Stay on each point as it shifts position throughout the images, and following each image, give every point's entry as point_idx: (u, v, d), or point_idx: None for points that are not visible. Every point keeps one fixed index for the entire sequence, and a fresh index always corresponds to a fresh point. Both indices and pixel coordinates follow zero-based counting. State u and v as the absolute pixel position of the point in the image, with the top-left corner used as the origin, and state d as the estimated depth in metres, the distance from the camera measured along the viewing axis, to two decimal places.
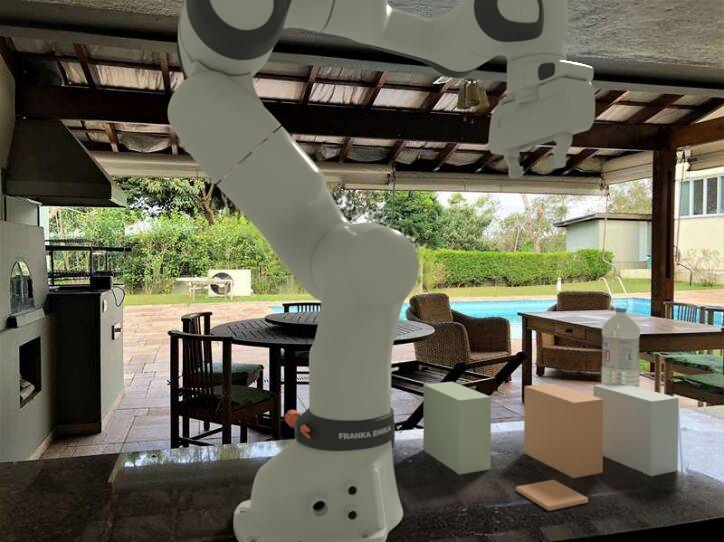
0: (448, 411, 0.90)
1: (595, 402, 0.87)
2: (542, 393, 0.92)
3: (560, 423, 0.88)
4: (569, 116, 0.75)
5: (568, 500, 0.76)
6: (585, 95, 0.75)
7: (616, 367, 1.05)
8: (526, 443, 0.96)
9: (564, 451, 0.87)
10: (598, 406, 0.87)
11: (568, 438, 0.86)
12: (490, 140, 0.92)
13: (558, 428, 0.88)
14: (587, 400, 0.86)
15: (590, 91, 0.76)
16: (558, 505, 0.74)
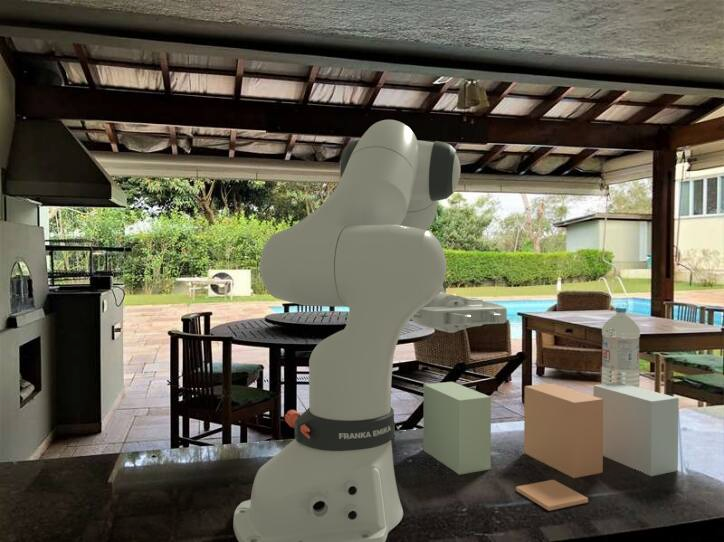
0: (448, 411, 0.90)
1: (595, 402, 0.87)
2: (542, 393, 0.92)
3: (560, 423, 0.88)
4: (500, 306, 1.22)
5: (568, 500, 0.76)
6: None
7: (616, 367, 1.05)
8: (526, 443, 0.96)
9: (564, 451, 0.87)
10: (598, 406, 0.87)
11: (568, 438, 0.86)
12: (428, 309, 1.16)
13: (558, 428, 0.88)
14: (587, 400, 0.86)
15: None
16: (558, 505, 0.74)
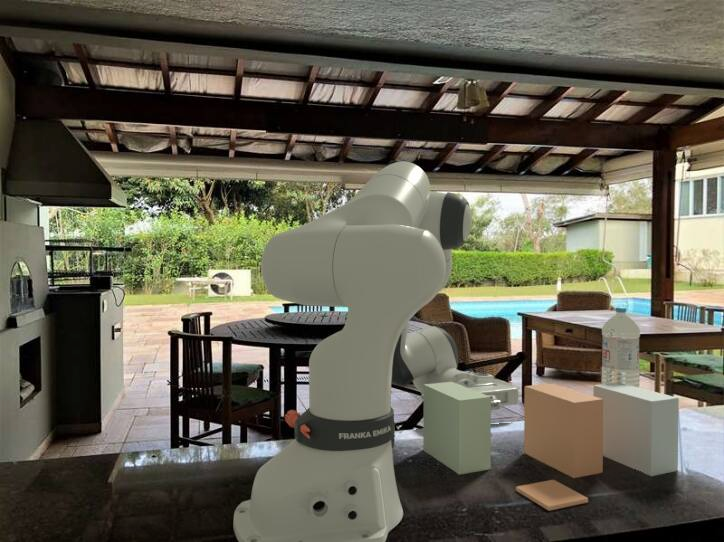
0: (448, 411, 0.90)
1: (595, 402, 0.87)
2: (542, 393, 0.92)
3: (560, 423, 0.88)
4: (512, 386, 1.18)
5: (568, 500, 0.76)
6: None
7: (616, 367, 1.05)
8: (526, 443, 0.96)
9: (564, 451, 0.87)
10: (598, 405, 0.87)
11: (568, 438, 0.86)
12: None
13: (558, 428, 0.88)
14: (587, 400, 0.86)
15: None
16: (558, 505, 0.74)
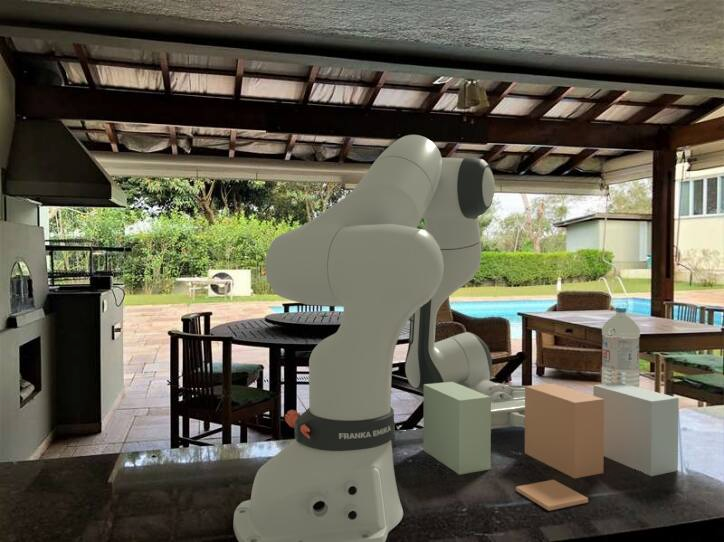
0: (448, 411, 0.90)
1: (596, 402, 0.86)
2: (543, 393, 0.92)
3: (561, 423, 0.88)
4: None
5: (568, 500, 0.76)
6: None
7: (616, 367, 1.05)
8: (527, 443, 0.95)
9: (565, 451, 0.87)
10: (599, 406, 0.87)
11: (569, 438, 0.86)
12: None
13: (559, 428, 0.88)
14: (588, 400, 0.86)
15: None
16: (558, 505, 0.74)
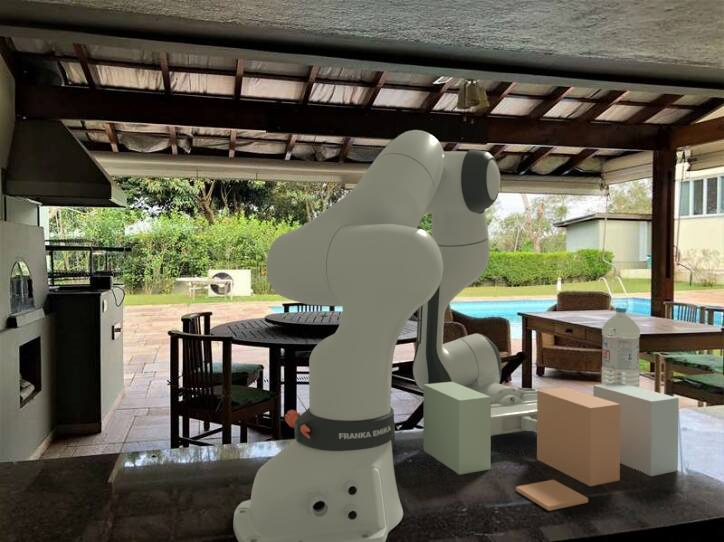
0: (448, 411, 0.90)
1: (612, 407, 0.83)
2: (556, 398, 0.89)
3: (575, 429, 0.85)
4: None
5: (568, 500, 0.76)
6: None
7: (616, 367, 1.05)
8: (539, 449, 0.92)
9: (579, 458, 0.84)
10: (615, 411, 0.84)
11: (584, 445, 0.83)
12: None
13: (573, 434, 0.85)
14: (604, 405, 0.83)
15: None
16: (558, 505, 0.74)
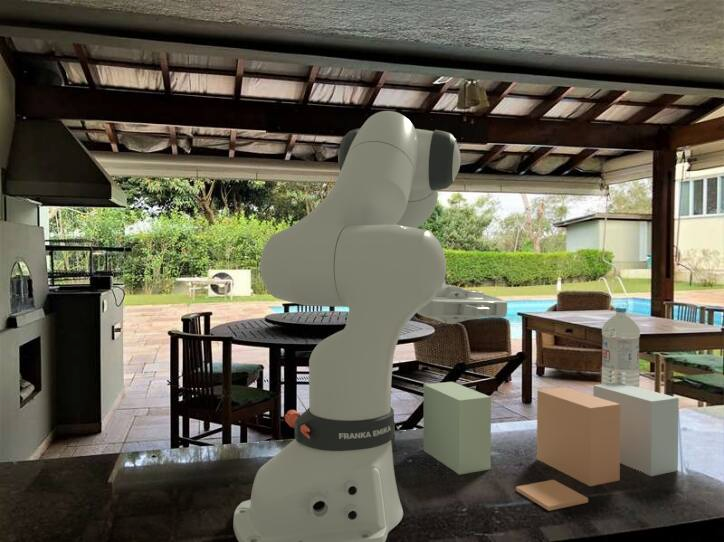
0: (448, 411, 0.90)
1: (612, 407, 0.83)
2: (556, 398, 0.89)
3: (575, 429, 0.85)
4: (501, 300, 1.21)
5: (568, 500, 0.76)
6: None
7: (616, 367, 1.05)
8: (539, 449, 0.92)
9: (579, 458, 0.84)
10: (615, 411, 0.84)
11: (584, 445, 0.83)
12: None
13: (573, 434, 0.85)
14: (604, 405, 0.83)
15: None
16: (558, 505, 0.74)
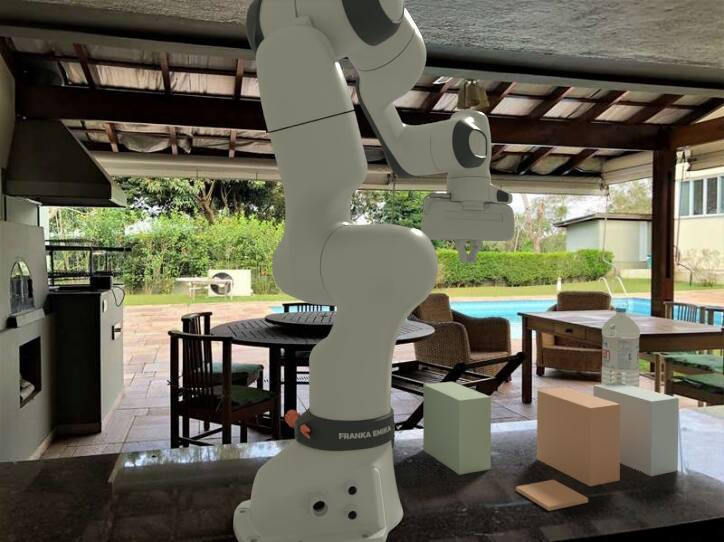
0: (448, 411, 0.90)
1: (612, 407, 0.83)
2: (556, 398, 0.89)
3: (575, 429, 0.85)
4: (510, 232, 1.10)
5: (568, 500, 0.76)
6: None
7: (616, 367, 1.05)
8: (539, 449, 0.92)
9: (579, 458, 0.84)
10: (615, 411, 0.84)
11: (584, 445, 0.83)
12: (433, 227, 1.04)
13: (573, 434, 0.85)
14: (604, 405, 0.83)
15: None
16: (558, 505, 0.74)
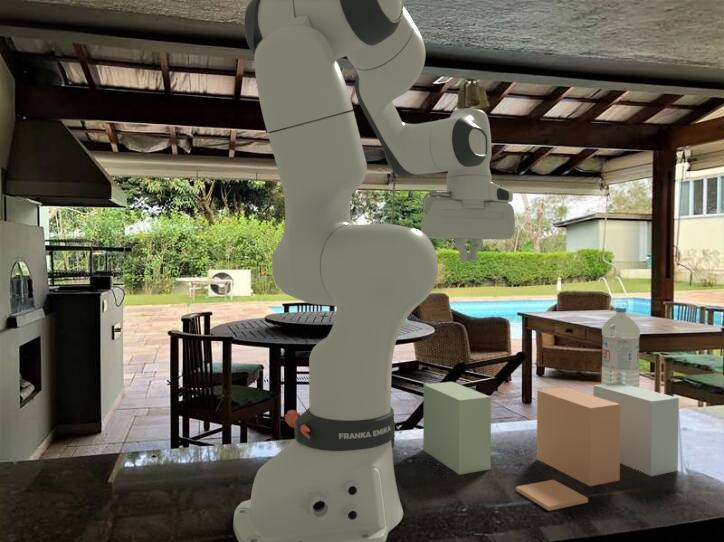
0: (448, 411, 0.90)
1: (612, 407, 0.83)
2: (556, 398, 0.89)
3: (575, 429, 0.85)
4: (511, 231, 1.10)
5: (568, 500, 0.76)
6: None
7: (616, 367, 1.05)
8: (539, 449, 0.92)
9: (579, 458, 0.84)
10: (615, 411, 0.84)
11: (584, 445, 0.83)
12: (433, 226, 1.04)
13: (573, 434, 0.85)
14: (604, 405, 0.83)
15: None
16: (558, 505, 0.74)
